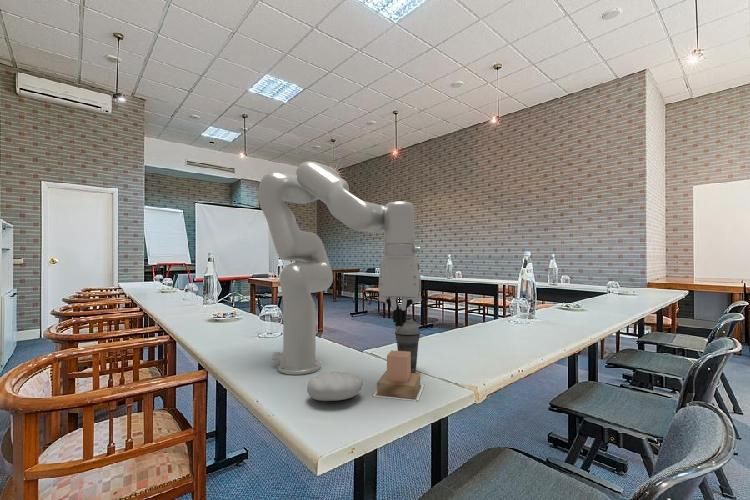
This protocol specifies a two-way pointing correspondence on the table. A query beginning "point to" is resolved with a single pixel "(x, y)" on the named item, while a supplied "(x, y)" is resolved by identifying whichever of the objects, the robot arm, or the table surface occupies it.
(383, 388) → the walnut slab
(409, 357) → the terracotta block
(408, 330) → the beverage cup
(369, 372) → the table surface
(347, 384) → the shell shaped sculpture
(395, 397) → the pale flat square plate
